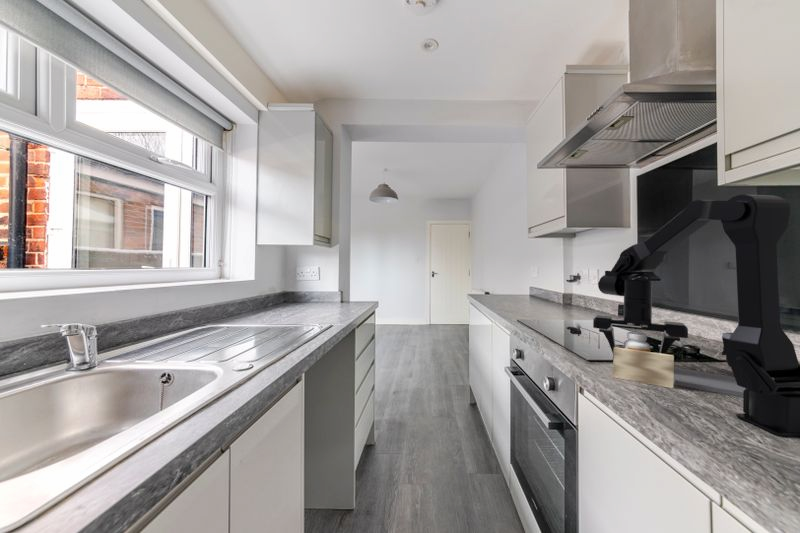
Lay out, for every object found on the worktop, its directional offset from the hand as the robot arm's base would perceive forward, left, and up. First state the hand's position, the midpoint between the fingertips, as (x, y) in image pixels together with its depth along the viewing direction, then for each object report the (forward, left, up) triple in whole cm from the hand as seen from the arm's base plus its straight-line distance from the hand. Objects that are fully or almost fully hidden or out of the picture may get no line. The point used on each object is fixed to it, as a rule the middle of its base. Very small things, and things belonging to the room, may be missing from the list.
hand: (636, 359), depth 80 cm
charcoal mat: (-8, -10, -3) cm, 13 cm away
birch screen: (-7, +4, -3) cm, 9 cm away
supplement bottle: (0, 0, -3) cm, 3 cm away
